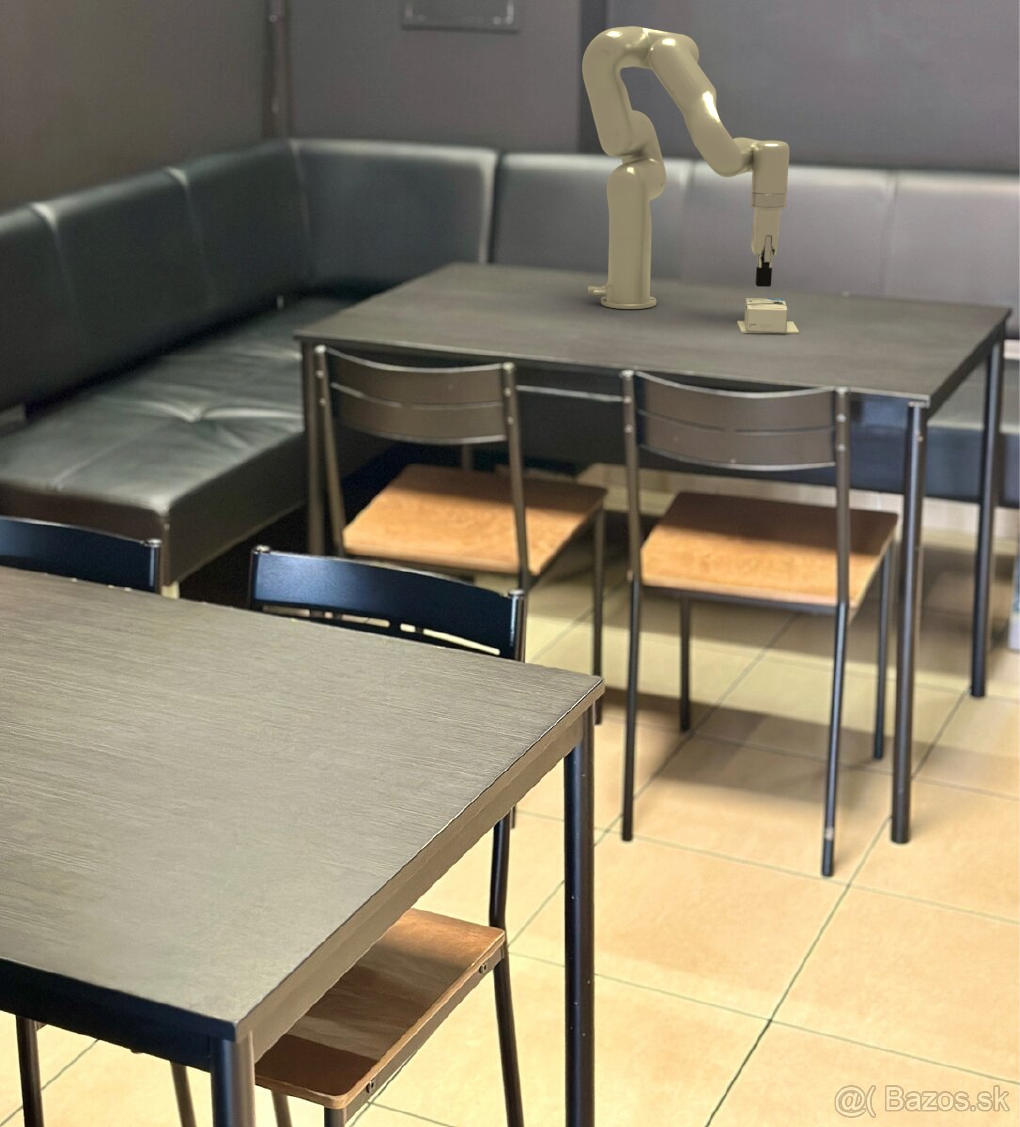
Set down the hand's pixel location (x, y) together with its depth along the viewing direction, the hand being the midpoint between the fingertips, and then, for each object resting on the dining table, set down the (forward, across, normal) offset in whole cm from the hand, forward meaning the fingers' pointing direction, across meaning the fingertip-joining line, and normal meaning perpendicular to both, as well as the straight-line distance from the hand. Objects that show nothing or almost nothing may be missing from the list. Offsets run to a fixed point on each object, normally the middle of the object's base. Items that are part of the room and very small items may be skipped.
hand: (763, 285), depth 347 cm
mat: (+7, +11, 0) cm, 13 cm away
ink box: (+4, +5, 0) cm, 6 cm away
